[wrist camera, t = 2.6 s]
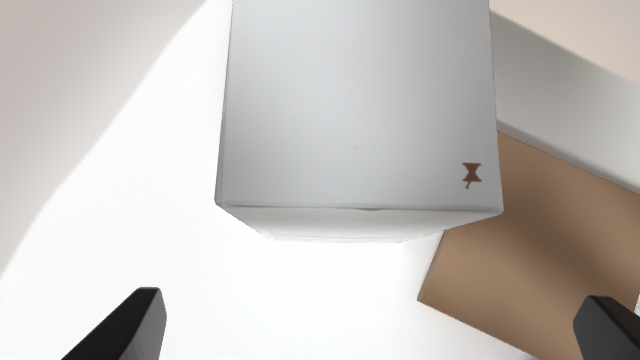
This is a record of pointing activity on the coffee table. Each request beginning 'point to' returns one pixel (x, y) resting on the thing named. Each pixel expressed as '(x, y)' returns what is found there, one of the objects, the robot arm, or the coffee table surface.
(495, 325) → the walnut plate
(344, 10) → the supplement box
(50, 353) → the coffee table surface
